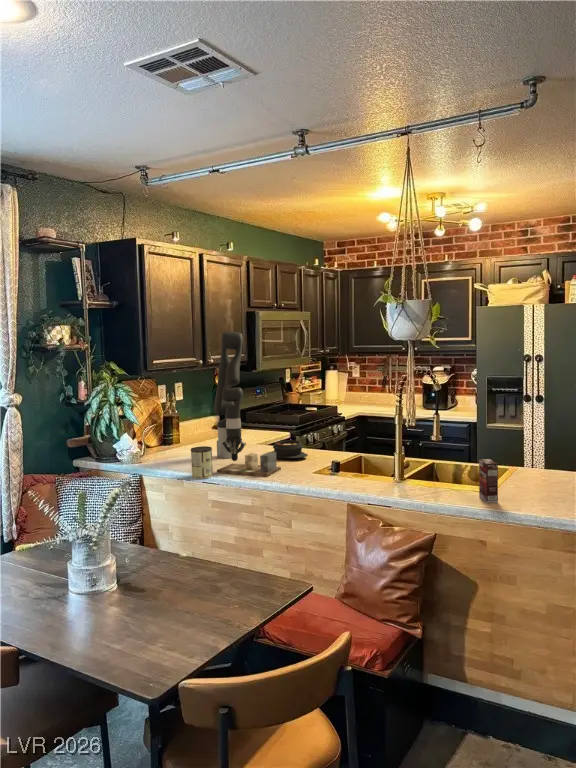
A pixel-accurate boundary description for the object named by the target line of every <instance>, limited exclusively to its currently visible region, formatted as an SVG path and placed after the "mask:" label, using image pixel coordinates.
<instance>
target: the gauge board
mask: <svg viewBox="0 0 576 768" xmlns="http://www.w3.org/2000/svg"><path fill="white" fill-rule="evenodd" d="M259 457H260V462H259V464H260V465H259V464H258V467H257V468H255V469H253V470H249V469H247V470H245V463H243V464H242V463H230V464H228V465H225V466H224V467H220V468H218V469H216V474H224V475H225V474H227V475H238V476H252V477H265V478H267V477H270V476H271V474H272V475H274V474H276V473H278V472H279V470H280V471H281V470H282V467H281V466H277V465H278V464H277V457H276V452H272V451H267V452H266V453H263V454H260V455H259ZM277 471H278V472H277ZM275 472H276V473H275ZM273 473H274V474H273Z"/></svg>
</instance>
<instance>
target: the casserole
mask: <svg viewBox="0 0 576 768" xmlns="http://www.w3.org/2000/svg"><path fill="white" fill-rule="evenodd" d="M273 444H274V445H273V446H272V448H273V450H272V451H271V452H276V459H277V458H278V459H282V460H294V458H295V459H301V458H306V457H308V456H309V454H307V453H305V452H303V451H302V450H303V447H304V445H303V443H302V442H301V441H299V440H287V439H286V440H280V441H276V442H274V443H273Z"/></svg>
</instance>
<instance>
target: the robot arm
mask: <svg viewBox="0 0 576 768" xmlns="http://www.w3.org/2000/svg"><path fill="white" fill-rule="evenodd" d="M243 339H244V337H243V334H242V333H241V332H237V331H223V332H222V335H221V339H220V343H221V344H220V359H219V366H218V373H217V374H218V375H217V386H216V394H215V398H214V404H213V411H214V414H215V415H216V416H225V418H223V419H221V420H219V421H218V422H217V440H216V458H219V459H231V460H232V461H233V462H236V461H238V459H239V458H238V457H239V456H238V454H239V453H241V452H242V451H243V449H244V448H245V446H246V445H247V443H246V442H244V441H243V439H242V420H241V405H242V404H241V403H242V400H243V397H244V391H243V389H242V388H241V387H234V386H238V385H239V384H240V382H241V381H240V378H241V376H240V374H241V373H240V372H241V371H240V370H241V369H240V368H241V362H242V361H241V360H242V354H243V353H242V352H243V344H244V342H243ZM227 350H234V351H235V354H234V355H233V357H232V359H231V358H230V356H229V354H228V351H227Z"/></svg>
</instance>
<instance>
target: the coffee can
mask: <svg viewBox="0 0 576 768" xmlns="http://www.w3.org/2000/svg"><path fill="white" fill-rule="evenodd" d="M212 451H213V447H212V446H206V445H205V446H195V447H191V448H190V458H191V459H190V460H191V478H192V479H195V480H196V479H197V480H204V479H210V478H212V477H213V476H214V474H213V453H212Z"/></svg>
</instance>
